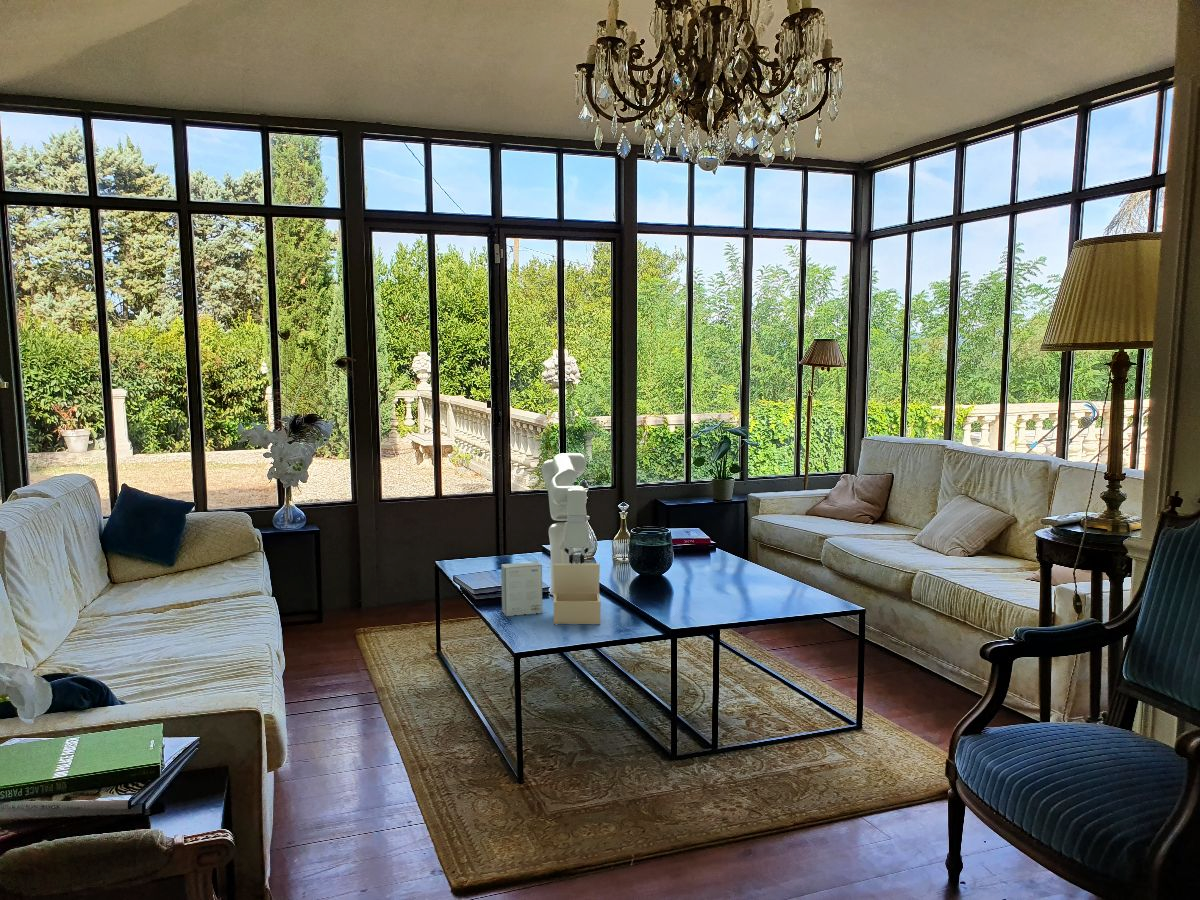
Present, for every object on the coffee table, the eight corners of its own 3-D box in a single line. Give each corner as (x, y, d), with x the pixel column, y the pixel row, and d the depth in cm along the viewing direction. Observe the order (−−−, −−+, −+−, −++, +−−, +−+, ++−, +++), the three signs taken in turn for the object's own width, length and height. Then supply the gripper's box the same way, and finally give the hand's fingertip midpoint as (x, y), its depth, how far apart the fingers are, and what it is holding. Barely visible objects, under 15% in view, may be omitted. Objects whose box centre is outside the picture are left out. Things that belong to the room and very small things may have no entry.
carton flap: (554, 592, 339) (554, 581, 345) (599, 592, 340) (598, 580, 346) (553, 564, 332) (554, 553, 338) (599, 564, 333) (599, 552, 339)
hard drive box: (538, 608, 349) (538, 561, 347) (543, 613, 342) (542, 565, 340) (501, 611, 344) (500, 563, 342) (505, 616, 337) (504, 567, 335)
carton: (554, 615, 339) (554, 593, 339) (598, 614, 340) (599, 592, 340) (553, 625, 326) (553, 602, 325) (600, 624, 326) (600, 601, 326)
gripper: (596, 517, 342) (596, 562, 343) (555, 517, 341) (556, 563, 342) (597, 520, 334) (597, 566, 336) (555, 520, 334) (555, 566, 335)
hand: (576, 564), depth 339 cm, fingers closed on carton flap, 3 cm apart
